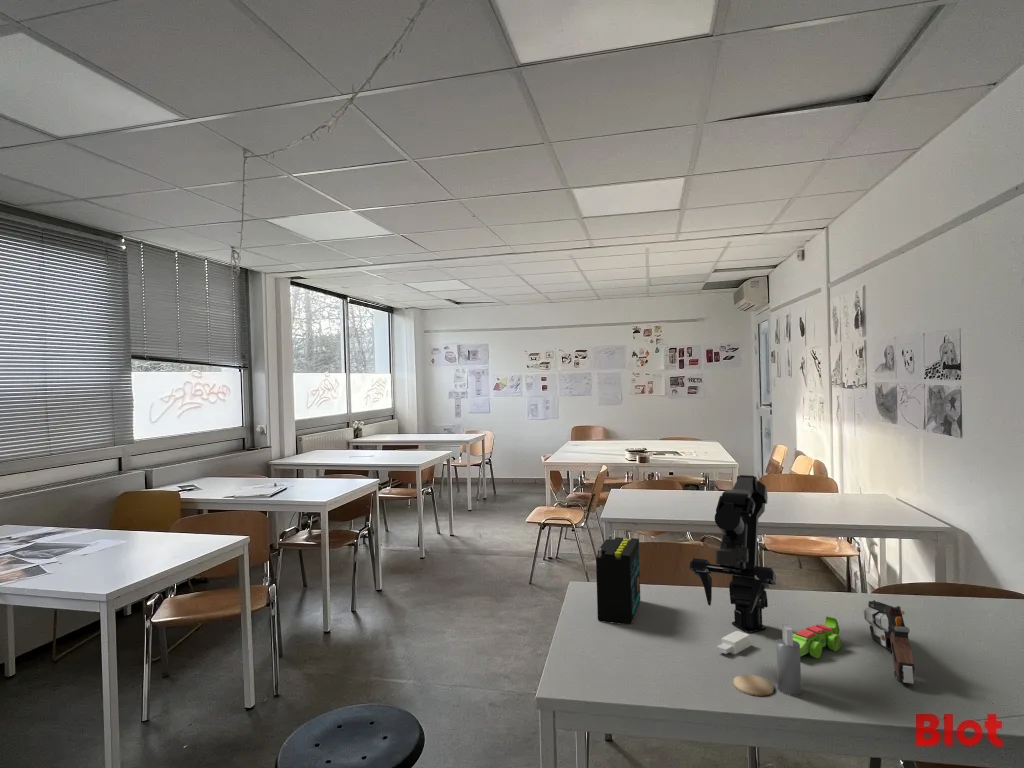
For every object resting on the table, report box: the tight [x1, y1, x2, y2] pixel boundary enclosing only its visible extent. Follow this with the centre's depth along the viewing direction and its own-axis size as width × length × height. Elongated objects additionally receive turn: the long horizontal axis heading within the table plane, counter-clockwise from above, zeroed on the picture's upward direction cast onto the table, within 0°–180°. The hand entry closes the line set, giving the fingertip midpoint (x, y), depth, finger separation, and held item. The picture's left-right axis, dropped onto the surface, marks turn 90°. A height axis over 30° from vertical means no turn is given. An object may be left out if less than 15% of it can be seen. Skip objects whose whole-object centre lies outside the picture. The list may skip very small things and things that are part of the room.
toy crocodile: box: [793, 615, 842, 659], centre depth 142 cm, size 20×7×6 cm, turn 120°
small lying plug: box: [716, 630, 751, 655], centre depth 143 cm, size 10×4×3 cm, turn 128°
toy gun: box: [863, 600, 916, 684], centre depth 137 cm, size 5×28×15 cm, turn 160°
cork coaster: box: [733, 674, 775, 697], centre depth 125 cm, size 8×8×1 cm
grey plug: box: [775, 623, 802, 696], centre depth 124 cm, size 5×5×14 cm
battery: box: [595, 534, 641, 625], centre depth 171 cm, size 19×10×20 cm, turn 160°
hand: (729, 608), depth 135 cm, fingers open, 9 cm apart
